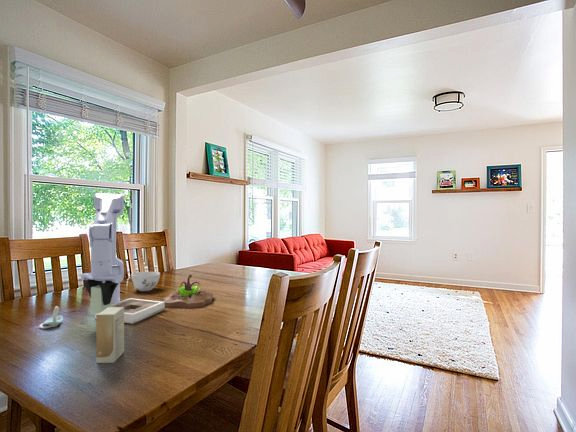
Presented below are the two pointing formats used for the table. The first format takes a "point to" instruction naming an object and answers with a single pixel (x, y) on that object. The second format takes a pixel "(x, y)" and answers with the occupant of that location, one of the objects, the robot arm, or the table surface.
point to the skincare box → (109, 334)
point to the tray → (142, 313)
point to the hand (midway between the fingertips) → (101, 303)
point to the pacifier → (53, 319)
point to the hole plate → (134, 306)
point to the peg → (97, 300)
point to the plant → (188, 296)
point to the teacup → (145, 280)
